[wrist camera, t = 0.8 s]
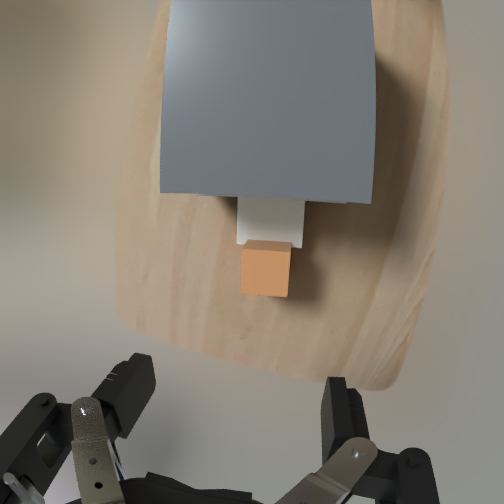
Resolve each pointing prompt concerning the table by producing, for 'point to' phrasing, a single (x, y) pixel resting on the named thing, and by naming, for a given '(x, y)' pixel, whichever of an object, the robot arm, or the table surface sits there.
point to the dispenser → (269, 100)
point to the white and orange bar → (268, 242)
